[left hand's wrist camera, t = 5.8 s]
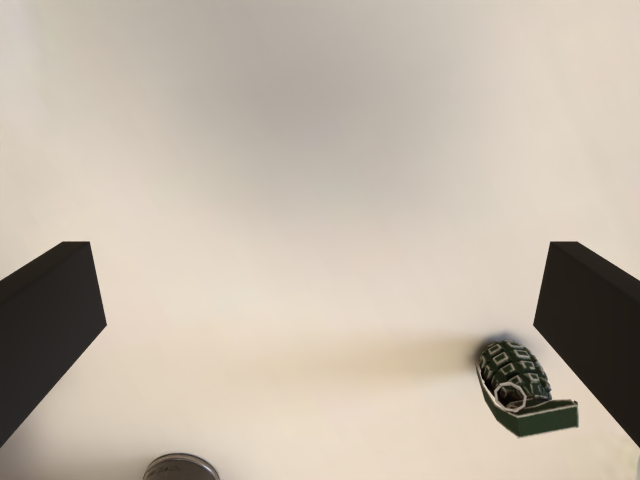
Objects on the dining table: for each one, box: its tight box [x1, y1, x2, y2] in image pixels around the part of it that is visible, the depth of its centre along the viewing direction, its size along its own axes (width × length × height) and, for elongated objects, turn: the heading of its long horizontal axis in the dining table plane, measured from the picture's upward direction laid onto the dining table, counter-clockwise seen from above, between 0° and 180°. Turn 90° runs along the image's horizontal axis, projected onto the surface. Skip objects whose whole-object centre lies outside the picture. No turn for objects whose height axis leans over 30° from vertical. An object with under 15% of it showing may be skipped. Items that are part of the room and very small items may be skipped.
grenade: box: [475, 340, 579, 438], centre depth 42 cm, size 7×6×10 cm
